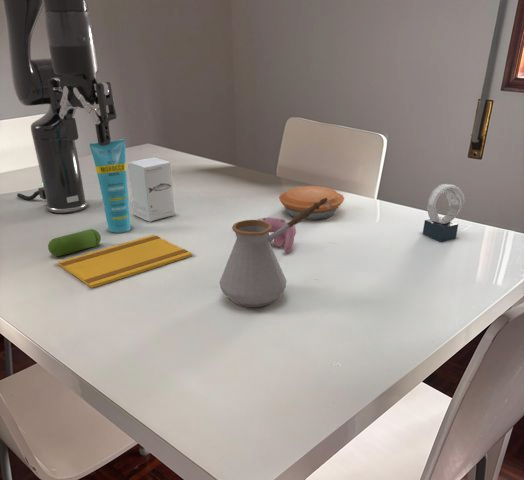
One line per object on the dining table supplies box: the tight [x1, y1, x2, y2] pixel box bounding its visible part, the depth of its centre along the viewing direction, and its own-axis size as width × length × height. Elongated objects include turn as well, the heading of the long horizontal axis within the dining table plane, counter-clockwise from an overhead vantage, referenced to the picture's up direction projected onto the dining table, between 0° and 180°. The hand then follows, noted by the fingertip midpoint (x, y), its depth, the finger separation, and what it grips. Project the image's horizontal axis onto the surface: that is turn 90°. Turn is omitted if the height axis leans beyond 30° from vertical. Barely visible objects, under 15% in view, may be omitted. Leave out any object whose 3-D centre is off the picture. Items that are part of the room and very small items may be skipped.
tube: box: [89, 138, 132, 234], centre depth 122 cm, size 7×5×19 cm, turn 123°
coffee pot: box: [219, 198, 332, 308], centre depth 96 cm, size 21×12×15 cm, turn 121°
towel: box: [57, 234, 193, 289], centre depth 112 cm, size 14×22×1 cm, turn 131°
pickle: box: [47, 228, 102, 257], centre depth 116 cm, size 4×11×4 cm, turn 131°
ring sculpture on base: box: [422, 183, 466, 243], centre depth 119 cm, size 6×8×11 cm
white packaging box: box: [127, 156, 176, 223], centre depth 132 cm, size 7×7×13 cm
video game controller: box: [256, 217, 297, 254], centre depth 116 cm, size 10×5×7 cm, turn 71°
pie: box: [278, 185, 345, 221], centre depth 135 cm, size 15×16×5 cm
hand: (88, 142), depth 104 cm, fingers open, 8 cm apart
